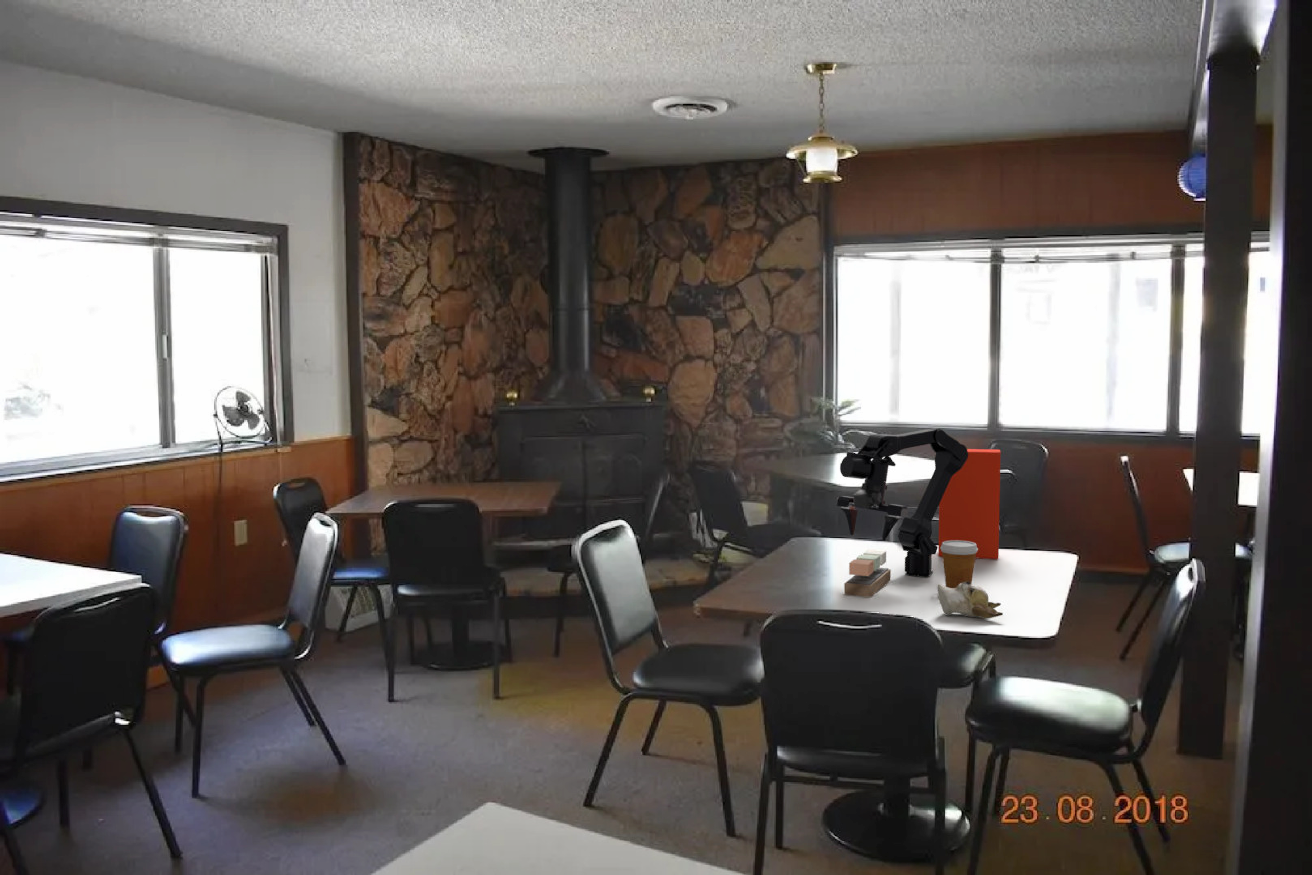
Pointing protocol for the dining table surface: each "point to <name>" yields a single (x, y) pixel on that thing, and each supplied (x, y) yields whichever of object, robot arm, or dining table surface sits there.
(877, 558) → the key sage
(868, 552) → the key white
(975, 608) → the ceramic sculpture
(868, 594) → the key panel
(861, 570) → the key terracotta
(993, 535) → the file binder
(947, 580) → the disposable coffee cup
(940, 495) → the robot arm
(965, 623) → the dining table surface
